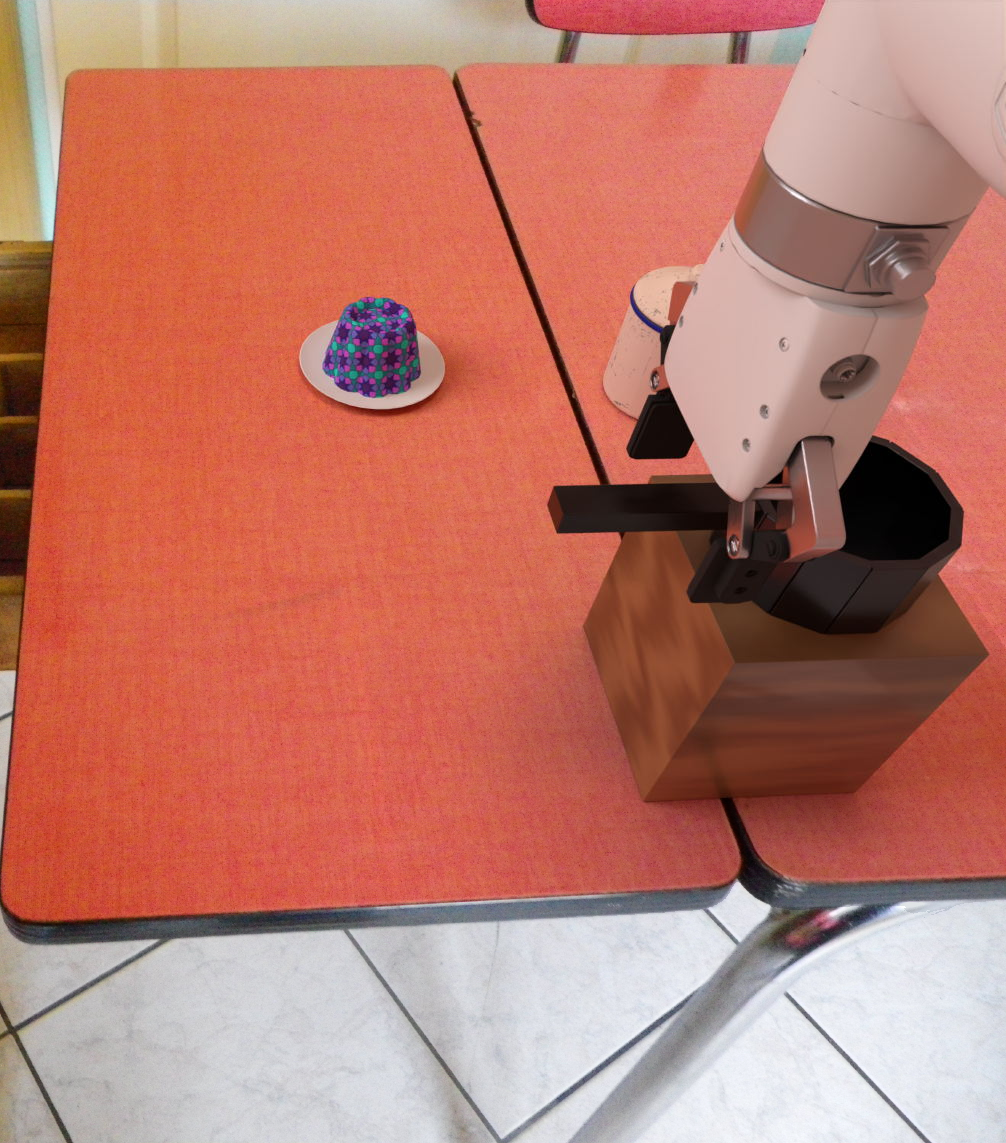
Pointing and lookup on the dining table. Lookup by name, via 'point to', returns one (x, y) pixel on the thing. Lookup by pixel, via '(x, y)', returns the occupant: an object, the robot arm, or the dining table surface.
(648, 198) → the dining table surface
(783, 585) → the pan
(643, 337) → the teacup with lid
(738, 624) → the wooden cube
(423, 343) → the pudding
